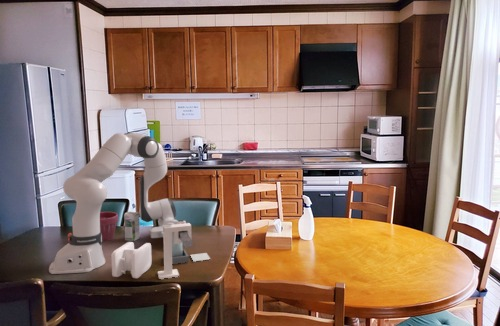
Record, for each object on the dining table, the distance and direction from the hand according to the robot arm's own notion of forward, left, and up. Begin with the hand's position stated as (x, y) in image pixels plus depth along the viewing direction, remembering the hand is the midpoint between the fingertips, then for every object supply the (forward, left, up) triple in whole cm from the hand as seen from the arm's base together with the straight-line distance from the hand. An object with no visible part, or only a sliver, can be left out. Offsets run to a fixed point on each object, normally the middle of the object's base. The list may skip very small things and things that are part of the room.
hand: (172, 236), depth 181 cm
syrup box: (-18, +24, -8) cm, 31 cm away
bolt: (0, -30, +8) cm, 31 cm away
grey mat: (+11, -13, -8) cm, 18 cm away
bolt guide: (-3, -27, -8) cm, 28 cm away
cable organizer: (-20, -20, -8) cm, 29 cm away
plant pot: (-32, +30, -8) cm, 44 cm away
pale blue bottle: (0, -12, -8) cm, 14 cm away
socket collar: (0, -12, -8) cm, 14 cm away
